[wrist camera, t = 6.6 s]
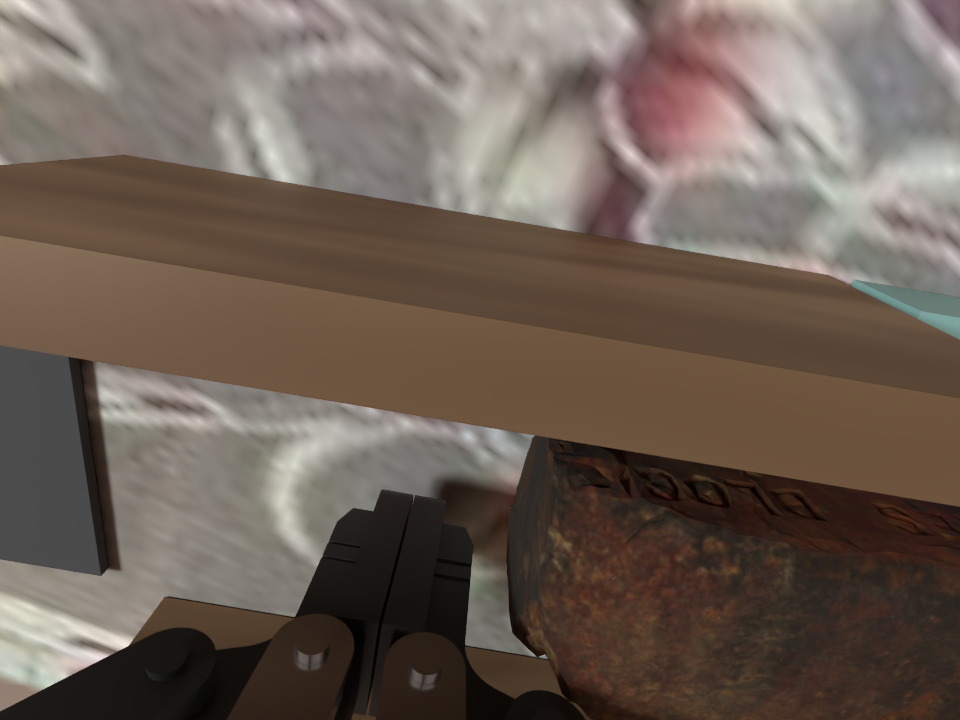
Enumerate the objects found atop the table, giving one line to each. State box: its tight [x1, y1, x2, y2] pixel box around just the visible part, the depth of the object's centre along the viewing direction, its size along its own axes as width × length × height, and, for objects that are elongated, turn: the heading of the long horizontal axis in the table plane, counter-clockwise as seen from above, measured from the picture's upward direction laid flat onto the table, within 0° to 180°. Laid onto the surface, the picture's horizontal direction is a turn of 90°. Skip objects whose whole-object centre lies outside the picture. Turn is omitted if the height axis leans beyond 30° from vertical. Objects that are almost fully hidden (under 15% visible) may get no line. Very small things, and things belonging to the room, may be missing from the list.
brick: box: [506, 435, 960, 720], centre depth 10 cm, size 11×4×5 cm, turn 80°
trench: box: [0, 155, 960, 720], centre depth 11 cm, size 13×14×6 cm
